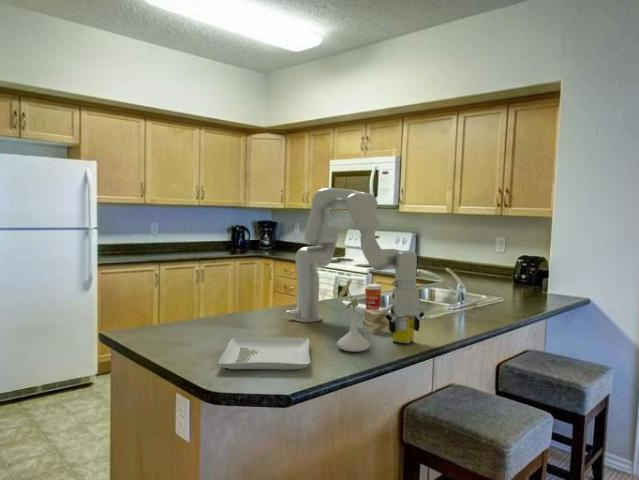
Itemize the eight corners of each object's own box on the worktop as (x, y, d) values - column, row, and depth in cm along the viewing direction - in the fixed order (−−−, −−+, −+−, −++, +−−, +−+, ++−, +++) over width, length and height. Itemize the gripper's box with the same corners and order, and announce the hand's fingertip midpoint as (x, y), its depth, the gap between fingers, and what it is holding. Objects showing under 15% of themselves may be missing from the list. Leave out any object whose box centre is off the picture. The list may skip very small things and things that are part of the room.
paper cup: (361, 316, 214) (362, 285, 213) (367, 312, 221) (368, 283, 220) (377, 318, 211) (378, 287, 210) (383, 315, 218) (384, 284, 217)
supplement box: (413, 341, 175) (414, 312, 174) (408, 345, 170) (409, 315, 169) (398, 339, 178) (399, 310, 177) (392, 343, 173) (393, 313, 172)
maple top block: (372, 324, 185) (372, 314, 185) (364, 319, 193) (364, 309, 192) (391, 323, 188) (391, 313, 187) (382, 318, 195) (382, 308, 195)
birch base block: (371, 334, 185) (371, 324, 184) (362, 328, 193) (362, 319, 193) (392, 333, 188) (392, 323, 187) (382, 327, 196) (382, 318, 196)
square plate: (309, 347, 166) (309, 336, 166) (310, 375, 139) (310, 362, 139) (231, 346, 165) (231, 335, 165) (217, 374, 138) (217, 361, 138)
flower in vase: (349, 342, 172) (351, 274, 170) (376, 349, 165) (378, 278, 163) (327, 350, 162) (328, 278, 160) (354, 358, 155) (356, 282, 153)
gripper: (388, 287, 166) (387, 335, 167) (431, 285, 172) (430, 332, 173) (379, 284, 173) (378, 330, 174) (421, 282, 179) (419, 327, 180)
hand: (404, 331), depth 174 cm, fingers open, 9 cm apart
